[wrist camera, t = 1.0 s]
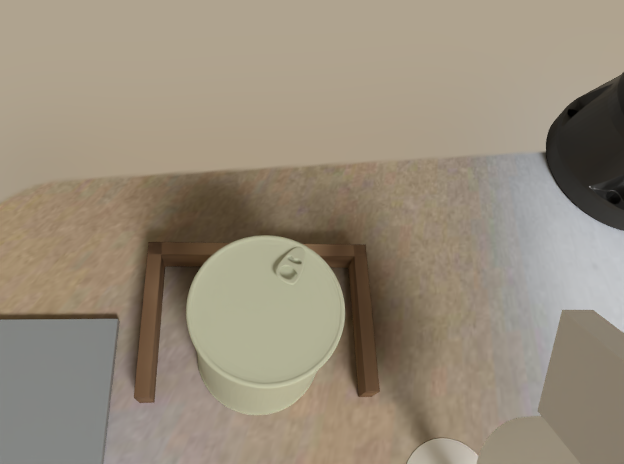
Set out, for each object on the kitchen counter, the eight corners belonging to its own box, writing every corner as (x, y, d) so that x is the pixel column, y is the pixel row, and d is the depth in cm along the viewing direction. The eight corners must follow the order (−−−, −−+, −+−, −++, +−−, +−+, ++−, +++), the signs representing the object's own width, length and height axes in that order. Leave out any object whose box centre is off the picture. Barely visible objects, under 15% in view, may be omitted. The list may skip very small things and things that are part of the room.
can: (337, 328, 42) (373, 274, 32) (284, 438, 38) (303, 419, 28) (236, 275, 43) (237, 205, 32) (173, 377, 39) (150, 336, 28)
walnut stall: (359, 256, 45) (365, 244, 43) (371, 396, 40) (379, 391, 38) (153, 254, 43) (148, 242, 41) (139, 402, 38) (133, 397, 36)
